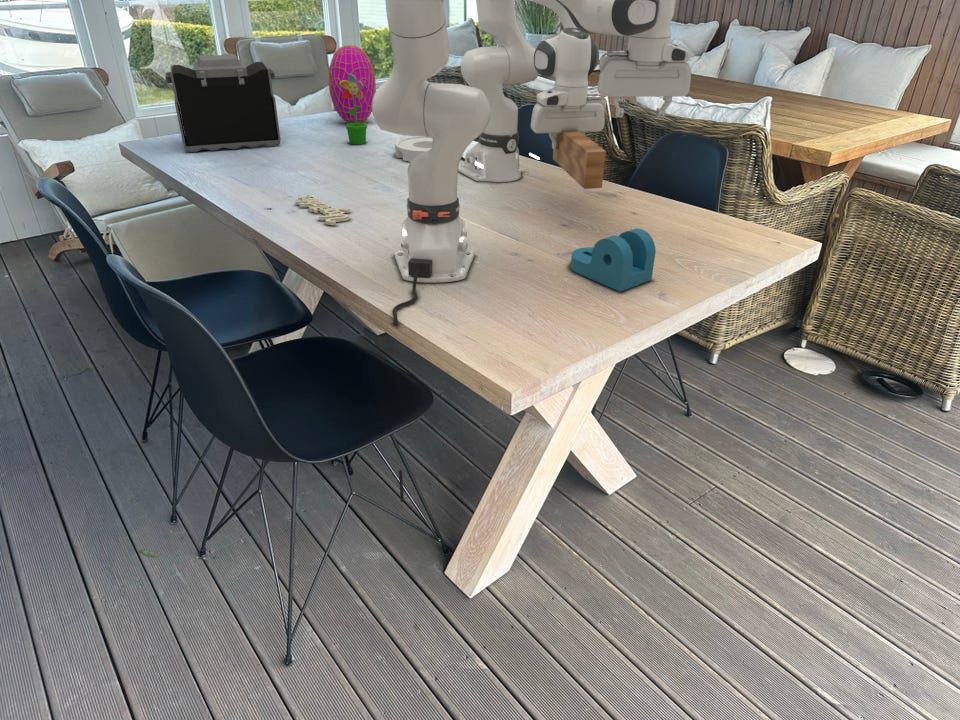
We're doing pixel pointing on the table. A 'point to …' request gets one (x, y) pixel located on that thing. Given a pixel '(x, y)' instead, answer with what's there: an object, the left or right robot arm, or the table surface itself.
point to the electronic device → (225, 104)
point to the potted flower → (354, 129)
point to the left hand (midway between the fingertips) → (639, 117)
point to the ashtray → (412, 147)
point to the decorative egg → (340, 66)
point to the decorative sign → (323, 209)
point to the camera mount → (617, 260)
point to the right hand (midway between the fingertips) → (565, 148)
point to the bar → (580, 158)
